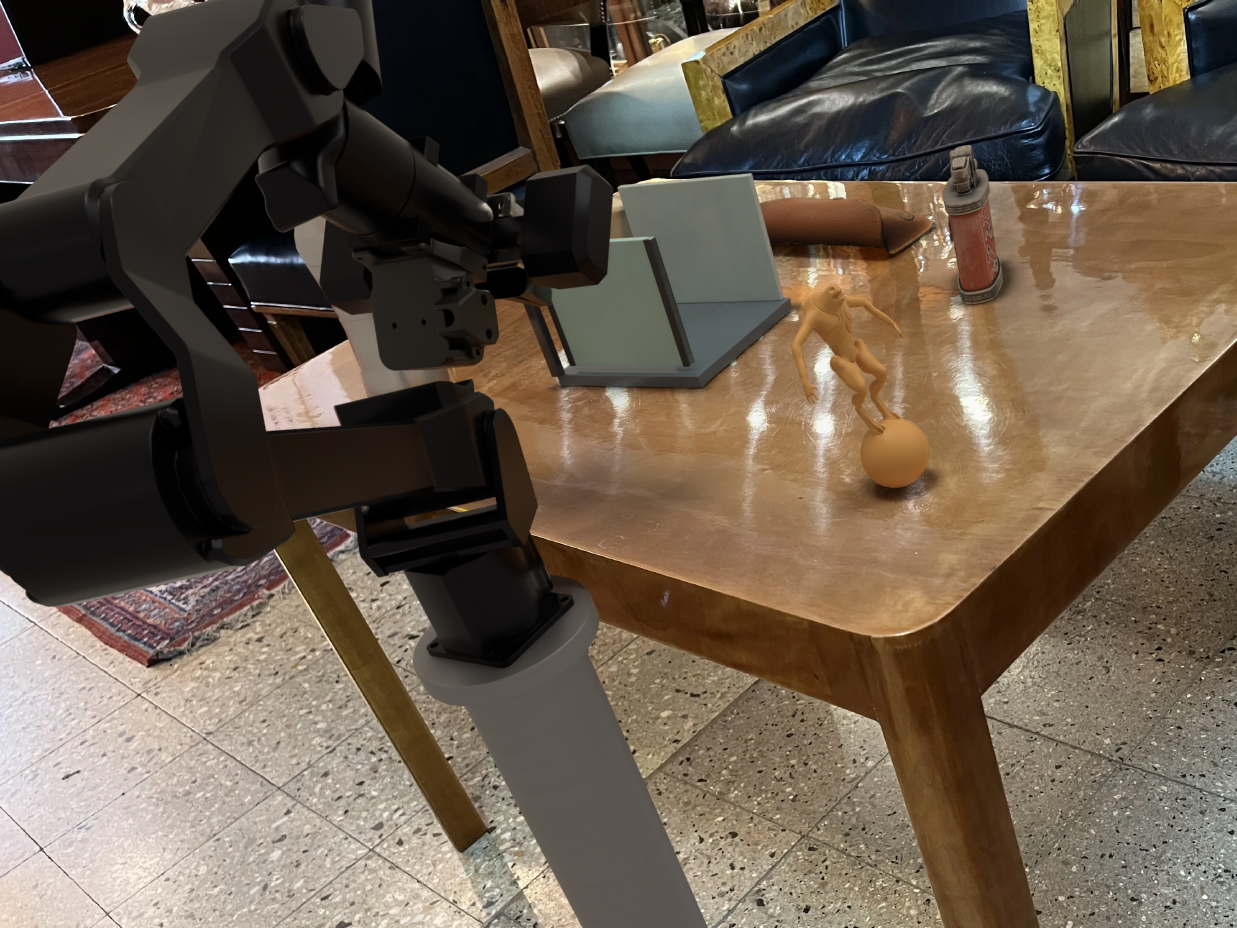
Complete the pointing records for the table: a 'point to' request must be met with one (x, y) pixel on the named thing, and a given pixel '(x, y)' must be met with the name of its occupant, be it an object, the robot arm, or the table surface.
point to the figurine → (863, 388)
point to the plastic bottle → (360, 326)
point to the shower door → (623, 313)
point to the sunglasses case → (842, 223)
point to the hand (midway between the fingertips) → (547, 299)
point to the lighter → (972, 228)
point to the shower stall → (695, 278)
